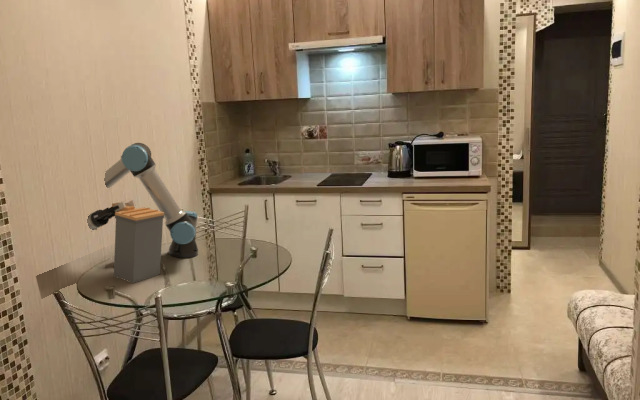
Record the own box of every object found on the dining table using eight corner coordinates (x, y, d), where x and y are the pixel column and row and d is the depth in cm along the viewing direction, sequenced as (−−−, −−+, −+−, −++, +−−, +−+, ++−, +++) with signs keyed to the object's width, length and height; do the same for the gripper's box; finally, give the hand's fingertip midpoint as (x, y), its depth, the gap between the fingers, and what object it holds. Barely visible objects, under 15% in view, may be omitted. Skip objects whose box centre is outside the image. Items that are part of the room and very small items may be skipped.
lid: (100, 210, 227) (100, 205, 226) (129, 206, 241) (129, 200, 241) (135, 220, 217) (136, 215, 217) (164, 215, 232) (164, 209, 232)
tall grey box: (112, 276, 228) (115, 214, 223) (140, 267, 243) (143, 209, 237) (133, 283, 223) (135, 220, 217) (160, 274, 237) (164, 215, 232)
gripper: (115, 223, 248) (146, 208, 237) (83, 230, 232) (115, 214, 221) (110, 209, 249) (141, 193, 238) (78, 214, 233) (110, 197, 222)
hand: (129, 203), depth 230 cm, fingers open, 5 cm apart
